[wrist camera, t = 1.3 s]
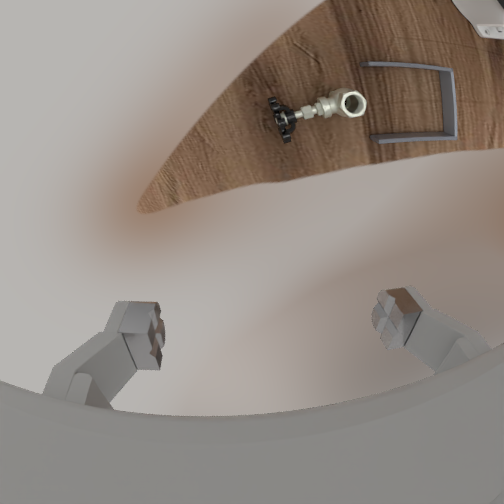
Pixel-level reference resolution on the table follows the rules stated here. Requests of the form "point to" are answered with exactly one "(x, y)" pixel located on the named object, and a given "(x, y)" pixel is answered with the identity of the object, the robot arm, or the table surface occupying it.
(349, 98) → the valve
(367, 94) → the table surface
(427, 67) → the valve dock
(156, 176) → the table surface
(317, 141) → the table surface
